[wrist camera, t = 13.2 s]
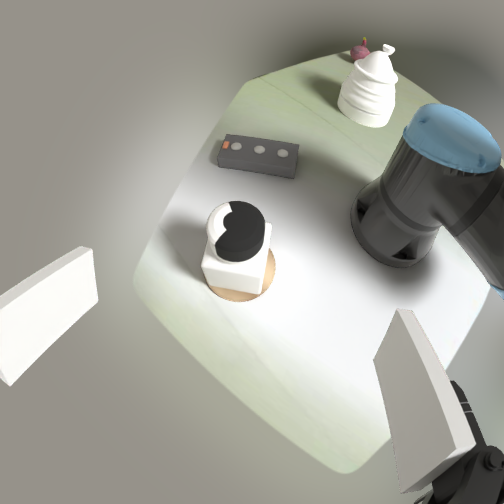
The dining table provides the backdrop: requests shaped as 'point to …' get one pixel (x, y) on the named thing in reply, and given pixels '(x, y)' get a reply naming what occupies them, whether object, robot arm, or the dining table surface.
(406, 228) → the robot arm
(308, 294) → the dining table surface
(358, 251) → the dining table surface
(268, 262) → the coaster
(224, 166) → the power strip
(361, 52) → the vegetable
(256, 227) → the medicine bottle
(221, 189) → the dining table surface
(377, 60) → the honey pot
